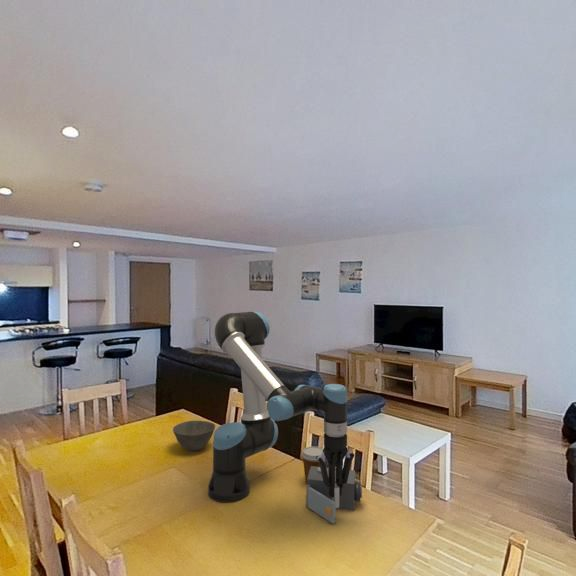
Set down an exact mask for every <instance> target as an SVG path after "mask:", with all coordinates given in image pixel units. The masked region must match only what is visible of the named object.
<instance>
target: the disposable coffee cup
mask: <svg viewBox="0 0 576 576" xmlns="http://www.w3.org/2000/svg"><path fill="white" fill-rule="evenodd" d="M323 449H324V447H323V448H322V447H320V446H314V445H313V446H306V447H304V448H303V450H302V452H301V458H302V463H303V472H304V480H305V481H304V482H305V483H306V485H307V478H308V474H309V471H310V468H311V466H316V467H320V465H319V462H318V460H317V459H316V456H320V455H321V454H322V453H323ZM325 459H327V458H326V457H325ZM324 463H325V464H326V461H325V462H324Z"/></svg>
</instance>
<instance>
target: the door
mask: <svg viewBox="0 0 576 576" xmlns="http://www.w3.org/2000/svg"><path fill="white" fill-rule="evenodd" d="M305 489H306V493H305V495H306V496H305V497H306V498H305V499H306V503H305V507H306V508H308V509H311V510H312V511H313V512H314V513H317V515H320V516H321V517H322V518H323V519H324V520H327V521H329V523H331V524H335V523H336V509H335V502H334V501H333V500H331V499H329V498H328V497H326V496H324V495H323V494H321V493H319V492H318V491H316V490H314V489H313V488H311V487H310V485H307V484H306V488H305Z"/></svg>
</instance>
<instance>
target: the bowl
mask: <svg viewBox="0 0 576 576" xmlns="http://www.w3.org/2000/svg"><path fill="white" fill-rule="evenodd" d="M215 430H216V425H215V423H214V422H210V421H204V420H188V421H183V422H180V423H178V424H176V425H174V426H173V428H172V432H173V434H174V437H175V438H176V440H177V442H178V443H179V445H180V446H181V447H182V448H183V449H185V450H187V451H189V452H196V451H197V452H198V451H200V450H201V449H203V448H204V447H206V446H207V444H208V443H209V442H210V440H211V439H212V437H213V435H214V432H215Z"/></svg>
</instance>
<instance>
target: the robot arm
mask: <svg viewBox="0 0 576 576" xmlns="http://www.w3.org/2000/svg"><path fill="white" fill-rule="evenodd" d="M214 326H215V327H214V337H215V340H216V344H217V345H218V347H219V348H220V350H222V352H223V353H226V354H229V356H230V357H231V358H232V360H234V362H235V363H236V365H238V367H239V368H240V371H241V372H240V373H241V385H242V388H241V389H242V399H243V400H242V401H243V414H242V415H241V416H240V422H237V421H235V422H226V423H224V424H221V425H219V426H218V427H217V428H215V429H214V432H213V440H212V448H213V450H212V451H213V452H212V453H213V455H212V456H213V457H212V474H211V476H210V479H209V483H208V485H207V495H208V496H209V498H210V499H211V500H213V501H215V502H219V503H234V502H238V501H240V500H243V499H245V498H246V497H247V496H249V494H250V492H251V483H250V482H251V481H250V480H249V477H248V473H247V471H246V459H247V458H249V457H251V456H253V455H254V456H255V455H256V454H259V453H261V452H264V451H267V450H268V449H270V448H271V447H273V446H274V445H275V444H276V442H277V440H278V436H279V429H278V425H277V424H278V423H276V422H279V421H285V420H289V419H290V418H293V417H296V416H297V415H301V414H304V413H307V412H310V411H315V412H319V413H323V433H324V434H323V453H322V454H321V455H320V456H316V459H317V460H318V462H319V465H320V469H321V473H322V478H323V482H324V484H325V485H326V486H327V487H329V495H330V496H331V497H332V500H333V501H334V502H335V508H339V496H341V494H342V487H343V484H344V483H345V484H346V483H347V481H348V476H349V471H350V470H351V465H352V461H353V459H354V458H355V453H354V452H352V451H351V450H349V449H348V435H347V433H348V400H349V399H348V393H347V392H348V390H347V387H346V386H345V385H343V384H339V383H329V384H326V385H324V387H323V388H321V387H316V386H313V385H309V384H299V385H297V387H296V388H294V390H293V391H290V390H289V389H288V388H287V387H286V385H285V384H284V383H283V382H282V381H281V380H280V379H279V377H278V376H277V375H276V374H275V372H273V370H272V369H271V368H270V367H269V366H268V364H267V363H265V361H264V360H263V355H262V354H263V352H262V349H263V347H264V346H266V345H265V343H266V342H265V341H266V340H267V338H268V337H269V334H270V329H271V328H270V324H269V320H268V319H267V317H266V316H265V315H264V314H263V313H262V312H259V311H245V312H243V311H242V312H230V313H229V312H228V313H226V314H223V315H222V316H221V317H220V318H219V319H218V320H217V322H216V324H215V325H214ZM265 339H266V340H265ZM266 403H267V404H266ZM325 457H326V458H325ZM326 460H327V463H328V468H329V478H328V474H327V469H326V468H327V465H326ZM324 462H325V463H324ZM335 468H336V484H335ZM342 469H343V470H342Z"/></svg>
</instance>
